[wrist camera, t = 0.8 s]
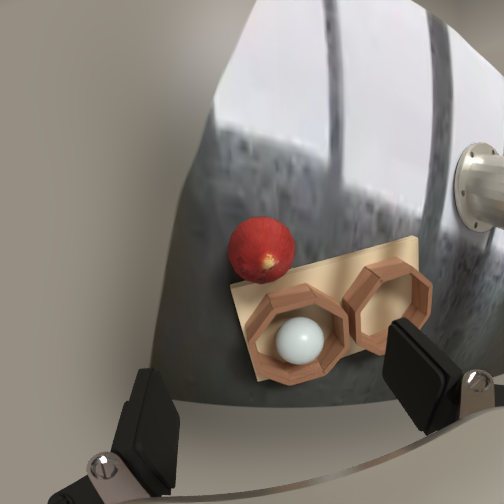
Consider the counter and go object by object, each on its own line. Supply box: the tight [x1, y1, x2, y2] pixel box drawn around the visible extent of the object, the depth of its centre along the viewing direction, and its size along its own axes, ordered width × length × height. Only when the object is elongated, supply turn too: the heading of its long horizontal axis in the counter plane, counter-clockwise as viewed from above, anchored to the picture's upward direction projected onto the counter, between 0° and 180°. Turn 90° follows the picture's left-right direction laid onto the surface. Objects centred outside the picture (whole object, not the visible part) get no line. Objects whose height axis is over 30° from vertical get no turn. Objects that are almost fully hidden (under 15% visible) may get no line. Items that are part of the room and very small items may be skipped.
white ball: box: [276, 317, 324, 365], centre depth 29 cm, size 5×5×5 cm
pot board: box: [230, 236, 433, 386], centre depth 30 cm, size 22×13×5 cm, turn 103°
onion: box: [228, 217, 295, 284], centre depth 25 cm, size 6×6×8 cm
